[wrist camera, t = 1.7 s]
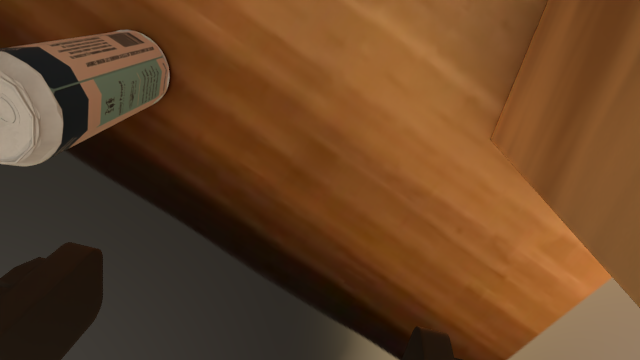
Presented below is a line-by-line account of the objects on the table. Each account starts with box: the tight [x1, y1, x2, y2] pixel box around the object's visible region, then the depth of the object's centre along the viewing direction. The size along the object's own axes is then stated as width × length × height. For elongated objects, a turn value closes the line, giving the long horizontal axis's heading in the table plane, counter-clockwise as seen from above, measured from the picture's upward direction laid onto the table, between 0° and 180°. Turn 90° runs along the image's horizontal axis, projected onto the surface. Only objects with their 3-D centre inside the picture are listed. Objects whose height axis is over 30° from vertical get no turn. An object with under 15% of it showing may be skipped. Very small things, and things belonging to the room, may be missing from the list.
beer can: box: [0, 30, 170, 166], centre depth 22 cm, size 5×5×12 cm
